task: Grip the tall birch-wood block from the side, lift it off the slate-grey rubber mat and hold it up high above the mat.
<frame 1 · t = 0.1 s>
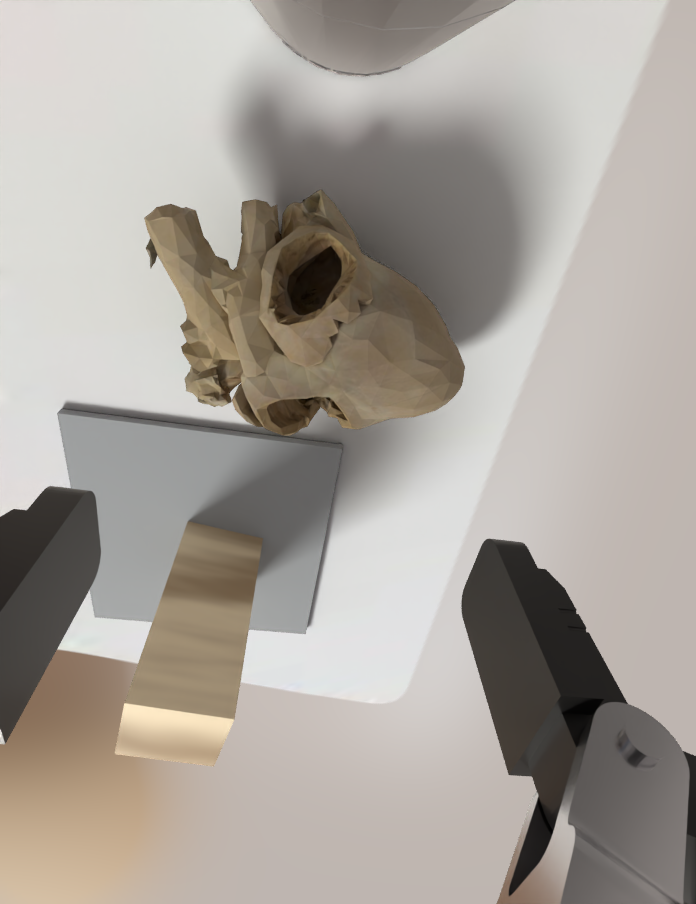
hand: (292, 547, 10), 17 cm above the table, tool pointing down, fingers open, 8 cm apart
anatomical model: (319, 305, 25), on the table
slate mat: (205, 538, 34), on the table
birch block: (218, 555, 34), resting on slate mat
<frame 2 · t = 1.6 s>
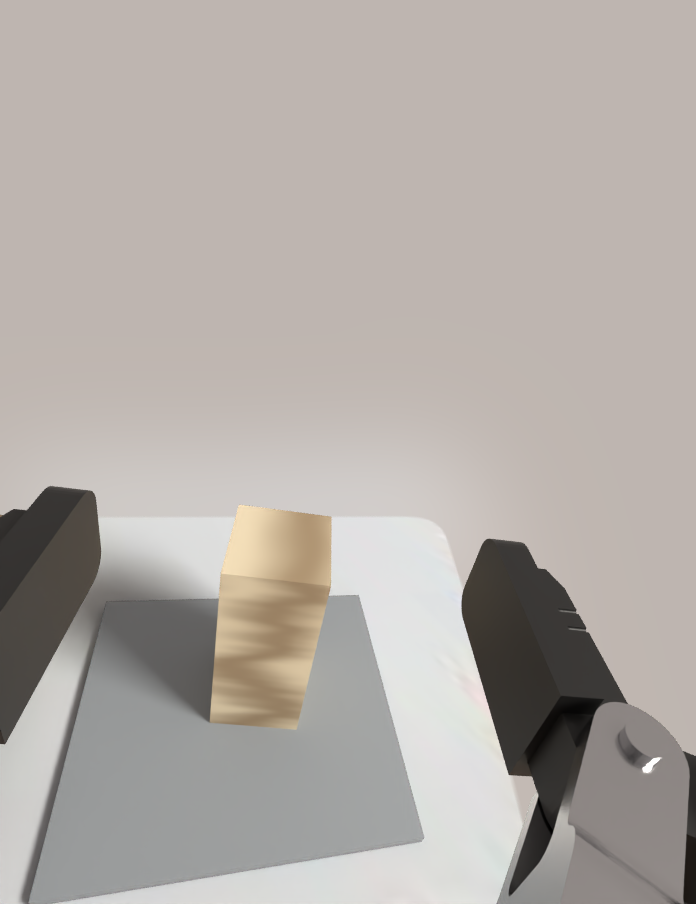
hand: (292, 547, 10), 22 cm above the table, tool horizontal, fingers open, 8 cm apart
slate mat: (242, 707, 30), on the table
birch block: (259, 686, 31), resting on slate mat
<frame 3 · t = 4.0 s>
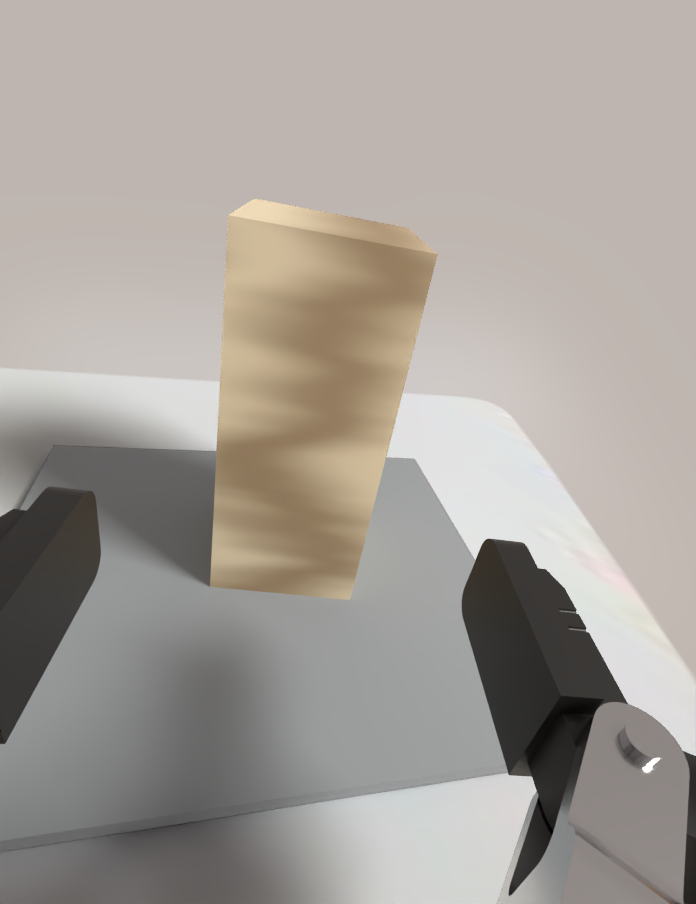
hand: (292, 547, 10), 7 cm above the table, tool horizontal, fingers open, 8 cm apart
slate mat: (261, 574, 19), on the table
birch block: (285, 546, 20), resting on slate mat
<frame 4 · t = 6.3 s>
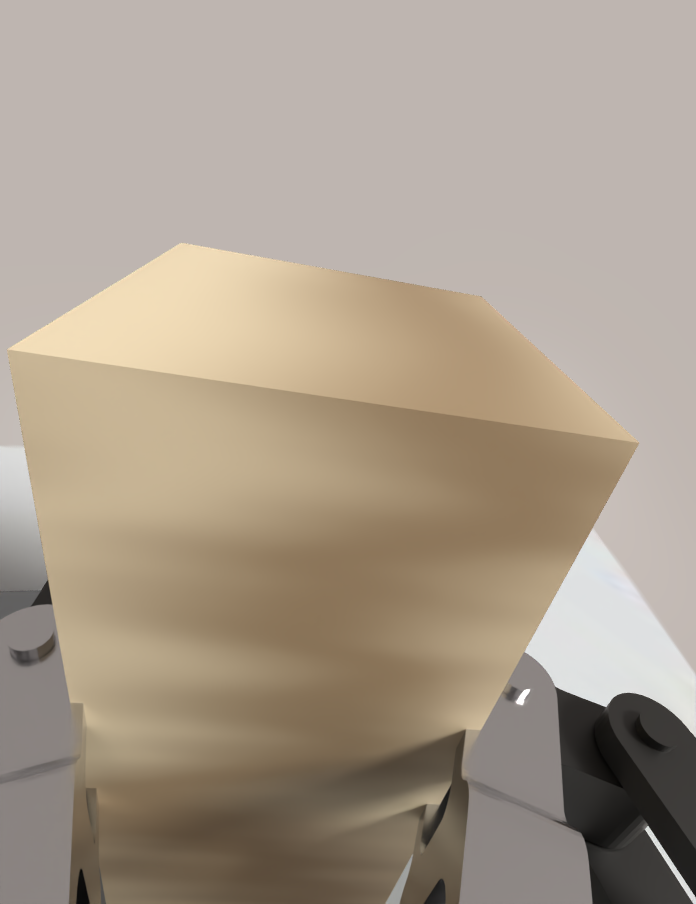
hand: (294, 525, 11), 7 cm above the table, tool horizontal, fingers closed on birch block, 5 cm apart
slate mat: (213, 867, 11), on the table
birch block: (257, 799, 12), point 1 cm above the table, touching gripper, slate mat
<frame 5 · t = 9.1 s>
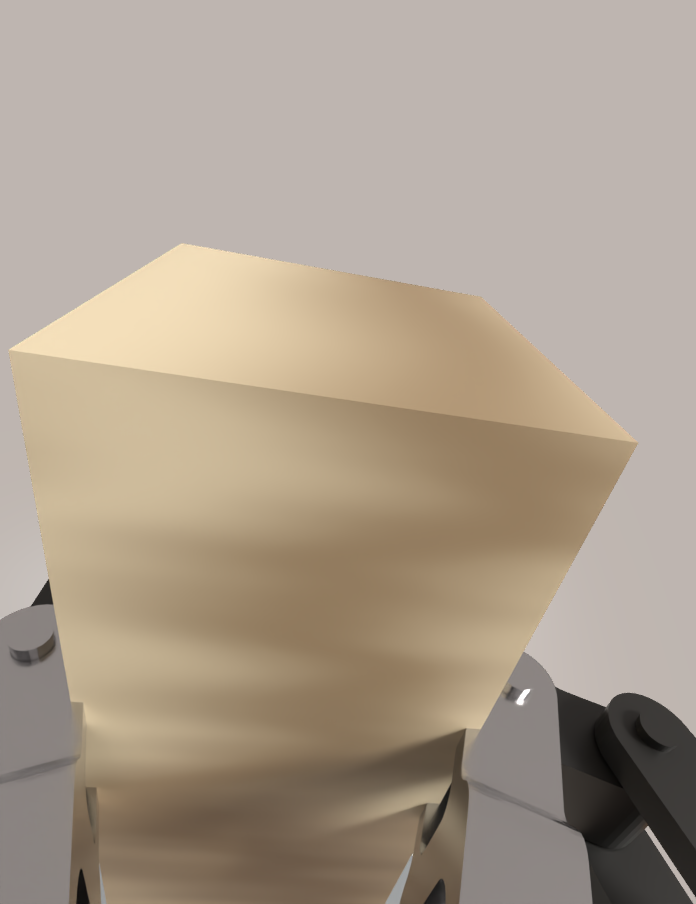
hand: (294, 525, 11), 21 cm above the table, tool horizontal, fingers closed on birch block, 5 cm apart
birch block: (257, 799, 12), point 14 cm above the table, touching gripper
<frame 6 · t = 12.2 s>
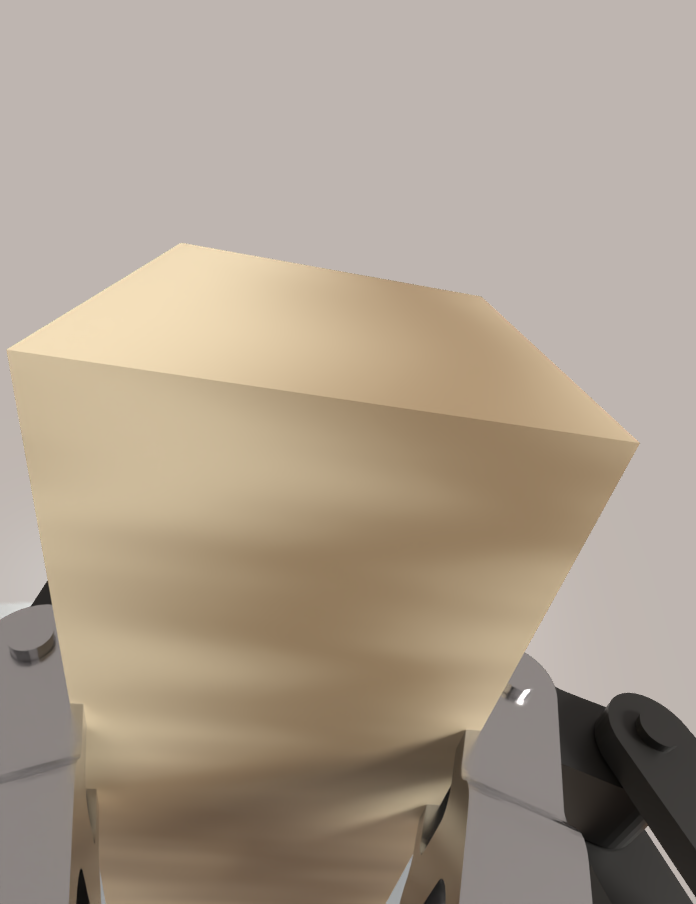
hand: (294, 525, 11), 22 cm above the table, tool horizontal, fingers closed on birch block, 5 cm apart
slate mat: (224, 892, 22), on the table
birch block: (257, 800, 12), point 15 cm above the table, touching gripper
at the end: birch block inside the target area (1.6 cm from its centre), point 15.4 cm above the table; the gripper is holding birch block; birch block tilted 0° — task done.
